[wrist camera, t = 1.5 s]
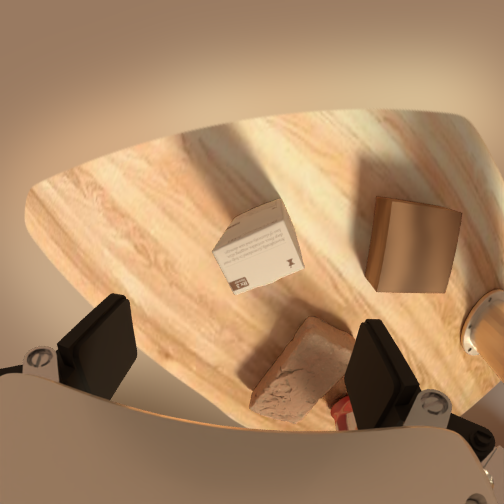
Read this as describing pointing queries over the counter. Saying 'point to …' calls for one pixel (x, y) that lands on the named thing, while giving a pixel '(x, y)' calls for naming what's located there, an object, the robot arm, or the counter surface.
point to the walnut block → (412, 246)
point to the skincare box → (259, 248)
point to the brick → (303, 372)
